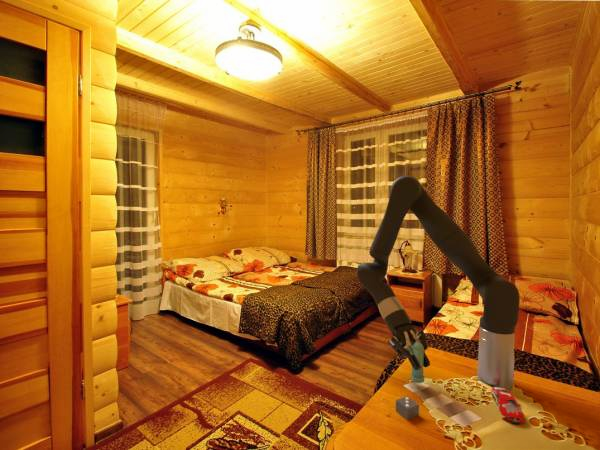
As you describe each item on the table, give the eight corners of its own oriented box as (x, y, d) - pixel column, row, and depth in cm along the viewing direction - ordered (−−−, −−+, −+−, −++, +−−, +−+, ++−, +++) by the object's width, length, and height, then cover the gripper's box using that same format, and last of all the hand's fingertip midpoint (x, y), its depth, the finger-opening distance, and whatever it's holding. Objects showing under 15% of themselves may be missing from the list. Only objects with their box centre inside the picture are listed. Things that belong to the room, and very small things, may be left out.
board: (420, 383, 96) (420, 379, 96) (483, 422, 78) (483, 418, 78) (401, 389, 92) (401, 385, 92) (462, 432, 74) (462, 427, 74)
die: (406, 410, 82) (407, 394, 82) (418, 419, 79) (419, 403, 79) (395, 415, 81) (395, 398, 80) (407, 424, 77) (407, 407, 77)
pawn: (417, 374, 95) (417, 339, 94) (427, 380, 91) (427, 344, 91) (407, 377, 93) (408, 341, 93) (417, 384, 90) (418, 346, 89)
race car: (527, 429, 77) (528, 413, 76) (501, 423, 78) (502, 408, 78) (510, 398, 89) (511, 384, 89) (489, 394, 91) (489, 381, 91)
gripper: (382, 311, 95) (412, 368, 85) (416, 305, 101) (447, 357, 91) (371, 323, 100) (398, 378, 89) (403, 316, 106) (432, 367, 96)
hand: (423, 367), depth 90 cm, fingers closed on pawn, 3 cm apart
